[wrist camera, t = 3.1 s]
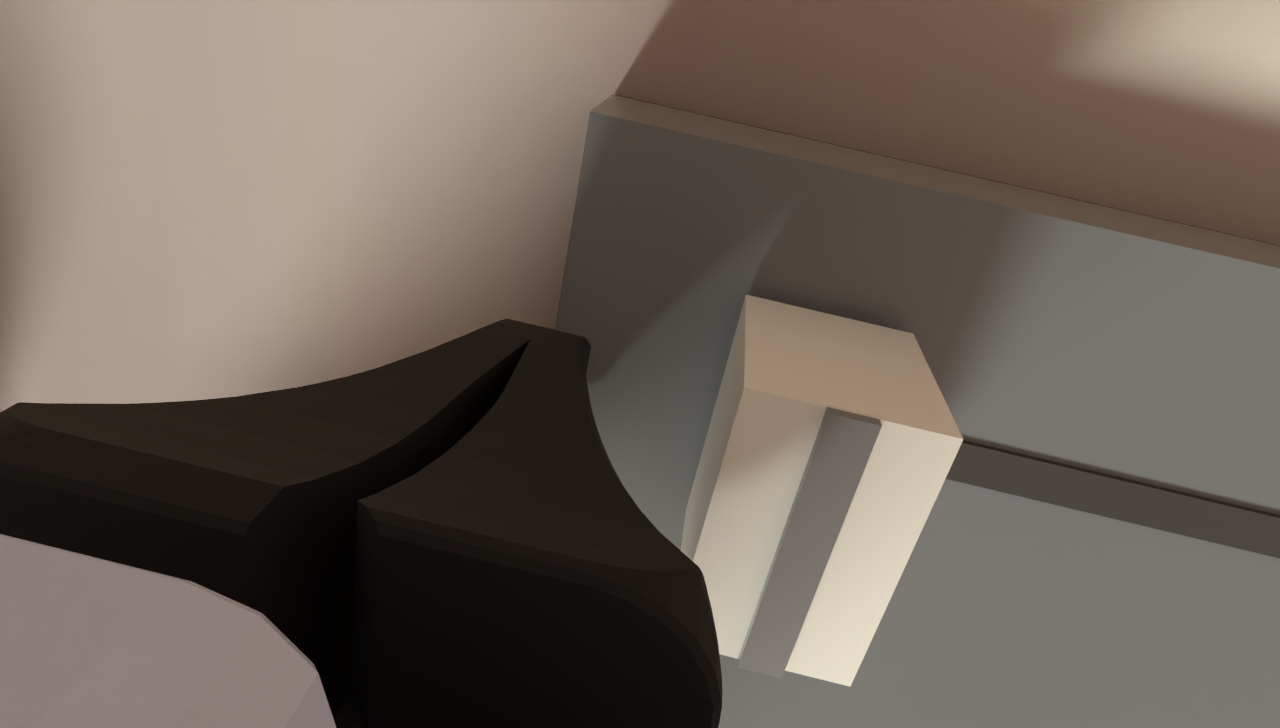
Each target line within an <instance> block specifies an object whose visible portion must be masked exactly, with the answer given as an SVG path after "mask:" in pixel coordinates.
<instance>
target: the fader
mask: <svg viewBox="0 0 1280 728" xmlns="http://www.w3.org/2000/svg"><path fill="white" fill-rule="evenodd" d="M962 441H963V437H962V435H961V433H960V431H959V429H958V427H957V425H956V422H955V420H954V418H953V416H952V414H951V412H950V410H949V408H948V406H947V404H946V401H945V399H944V397H943V395H942V393H941V391H940V389H939V387H938V385H937V382H936V380H935V378H934V376H933V374H932V372H931V370H930V368H929V366H928V364H927V361H926V359H925V357H924V355H923V353H922V351H921V349H920V347H919V345H918V343H917V340H916V338H915V336H914V334H913V333H909V332H904V331H900V330H896V329H892V328H887V327H883V326H879V325H875V324H870V323H866V322H862V321H857V320H853V319H849V318H845V317H840V316H836V315H832V314H827V313H823V312H819V311H815V310H810V309H806V308H802V307H798V306H793V305H789V304H785V303H780V302H776V301H772V300H768V299H763V298H759V297H755V296H750V295H746V296H745V300H744V303H743V307H742V310H741V314H740V318H739V321H738V325H737V328H736V332H735V335H734V339H733V343H732V346H731V350H730V353H729V357H728V361H727V364H726V368H725V371H724V375H723V378H722V382H721V386H720V389H719V393H718V396H717V400H716V404H715V407H714V411H713V414H712V418H711V422H710V425H709V429H708V432H707V436H706V439H705V443H704V447H703V450H702V454H701V457H700V461H699V465H698V468H697V472H696V475H695V479H694V482H693V486H692V490H691V493H690V497H689V500H688V504H687V508H686V513H685V521H684V529H683V537H682V544H681V551H682V552H683V553H684V554H685V555H686V556H687V557H688V558H690V559H691V560H692V561H693V562H694V563H695V564H696V565H697V566H699V568H700V569H701V571H702V573H703V576H704V580H705V583H706V587H707V591H708V595H709V600H710V604H711V608H712V613H713V618H714V623H715V628H716V634H717V639H718V647H719V654H720V655H724V656H728V657H732V658H736V659H738V668H742V669H746V670H750V671H754V672H758V673H762V674H766V675H770V676H774V677H778V678H782V676H783V674H784V671H789V672H793V673H797V674H801V675H805V676H809V677H813V678H817V679H821V680H825V681H829V682H833V683H837V684H841V685H845V686H849V687H851V684H852V682H853V680H854V678H855V676H856V673H857V671H858V669H859V667H860V665H861V662H862V660H863V658H864V656H865V654H866V652H867V649H868V647H869V645H870V643H871V641H872V638H873V636H874V634H875V632H876V630H877V627H878V625H879V623H880V621H881V619H882V616H883V614H884V612H885V610H886V608H887V606H888V603H889V601H890V599H891V597H892V595H893V592H894V590H895V588H896V586H897V584H898V581H899V579H900V577H901V575H902V573H903V571H904V568H905V566H906V564H907V562H908V560H909V557H910V555H911V553H912V551H913V549H914V546H915V544H916V542H917V540H918V538H919V536H920V533H921V531H922V529H923V527H924V525H925V522H926V520H927V518H928V516H929V514H930V511H931V509H932V507H933V505H934V503H935V501H936V498H937V496H938V494H939V492H940V490H941V487H942V485H943V483H944V481H945V479H946V476H947V474H948V472H949V470H950V468H951V466H952V463H953V461H954V459H955V457H956V455H957V452H958V450H959V448H960V446H961V444H962Z"/></svg>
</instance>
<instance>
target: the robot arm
mask: <svg viewBox="0 0 1280 728" xmlns="http://www.w3.org/2000/svg"><path fill="white" fill-rule="evenodd" d="M590 350H591V345H590V343H589V342H588V340H587V339H586V337H582V336H578V335H574V334H570V333H565V332H561V331H557V330H552V329H548V328H544V327H540V326H535V325H531V324H527V323H522V322H518V321H514V320H510V319H505V320H501V321H498V322H496V323H493V324H490V325H488V326H485V327H483V328H481V329H478V330H476V331H474V332H471V333H469V334H466V335H464V336H462V337H459V338H457V339H454V340H452V341H449V342H447V343H445V344H442V345H440V346H437V347H435V348H432V349H430V350H427V351H425V352H422V353H419V354H416V355H413V356H410V357H407V358H405V359H402V360H399V361H396V362H393V363H390V364H387V365H384V366H382V367H379V368H376V369H372V370H369V371H366V372H362V373H358V374H355V375H351V376H347V377H343V378H339V379H335V380H330V381H326V382H322V383H317V384H313V385H308V386H303V387H297V388H291V389H284V390H277V391H271V392H264V393H258V394H251V395H244V396H238V397H229V398H219V399H207V400H196V401H181V402H163V403H141V404H43V403H17V404H15V405H13V406H11V407H10V408H8V409H6V410H4V411H3V412H1V413H0V728H718V727H719V722H720V717H721V710H722V696H723V695H722V674H721V664H720V655H719V647H718V639H717V634H716V628H715V623H714V618H713V613H712V608H711V604H710V600H709V595H708V591H707V587H706V583H705V580H704V576H703V573H702V571H701V569H700V568H699V566H697V565H696V564H695V563H694V562H693V561H692V560H691V559H690V558H688V557H687V556H686V555H685V554H684V553H683V552H682V551H681V550H679V549H678V548H677V547H676V546H675V545H674V544H673V543H672V542H670V541H669V540H668V539H667V538H666V537H665V536H664V535H663V534H661V533H660V532H659V531H658V529H657V528H656V527H655V526H654V525H653V524H652V523H651V522H650V521H649V519H648V518H647V517H646V516H645V515H644V514H643V513H642V511H641V510H640V509H639V508H638V506H637V505H636V503H635V502H634V500H633V499H632V497H631V496H630V495H629V493H628V492H627V490H626V489H625V487H624V486H623V484H622V482H621V481H620V479H619V477H618V475H617V473H616V471H615V469H614V468H613V466H612V464H611V461H610V459H609V457H608V455H607V453H606V450H605V448H604V446H603V443H602V441H601V438H600V435H599V432H598V429H597V426H596V422H595V419H594V416H593V412H592V408H591V404H590V398H589V392H588V386H587V379H586V372H587V367H588V361H589V356H590Z"/></svg>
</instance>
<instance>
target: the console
mask: <svg viewBox="0 0 1280 728" xmlns="http://www.w3.org/2000/svg"><path fill="white" fill-rule="evenodd" d="M746 295H750V296H755V297H759V298H763V299H768V300H772V301H776V302H780V303H785V304H789V305H793V306H798V307H802V308H806V309H810V310H815V311H819V312H823V313H827V314H832V315H836V316H840V317H845V318H849V319H853V320H857V321H862V322H866V323H870V324H875V325H879V326H883V327H887V328H892V329H896V330H900V331H904V332H909V333H913V334H914V336H915V338H916V340H917V343H918V345H919V347H920V349H921V351H922V353H923V355H924V357H925V359H926V361H927V364H928V366H929V368H930V370H931V372H932V374H933V376H934V378H935V380H936V382H937V385H938V387H939V389H940V391H941V393H942V395H943V397H944V399H945V401H946V404H947V406H948V408H949V410H950V412H951V414H952V416H953V418H954V420H955V422H956V425H957V427H958V429H959V431H960V433H961V435H962V437H963V441H962V444H961V446H960V448H959V450H958V452H957V455H956V457H955V459H954V461H953V463H952V466H951V468H950V470H949V472H948V474H947V476H946V479H945V481H944V483H943V485H942V487H941V490H940V492H939V494H938V496H937V498H936V501H935V503H934V505H933V507H932V509H931V511H930V514H929V516H928V518H927V520H926V522H925V525H924V527H923V529H922V531H921V533H920V536H919V538H918V540H917V542H916V544H915V546H914V549H913V551H912V553H911V555H910V557H909V560H908V562H907V564H906V566H905V568H904V571H903V573H902V575H901V577H900V579H899V581H898V584H897V586H896V588H895V590H894V592H893V595H892V597H891V599H890V601H889V603H888V606H887V608H886V610H885V612H884V614H883V616H882V619H881V621H880V623H879V625H878V627H877V630H876V632H875V634H874V636H873V638H872V641H871V643H870V645H869V647H868V649H867V652H866V654H865V656H864V658H863V660H862V662H861V665H860V667H859V669H858V671H857V673H856V676H855V678H854V680H853V682H852V684H851V687H849V686H845V685H841V684H837V683H833V682H829V681H825V680H821V679H817V678H813V677H809V676H805V675H801V674H797V673H793V672H789V671H784V674H783V676H782V678H778V677H774V676H770V675H766V674H762V673H758V672H754V671H750V670H746V669H742V668H738V659H736V658H732V657H728V656H724V655H720V654H719V655H720V664H721V674H722V695H723V696H722V710H721V717H720V722H719V727H718V728H1280V246H1277V245H1273V244H1268V243H1264V242H1259V241H1255V240H1251V239H1246V238H1242V237H1237V236H1233V235H1229V234H1224V233H1220V232H1215V231H1211V230H1207V229H1202V228H1198V227H1193V226H1189V225H1185V224H1180V223H1176V222H1171V221H1167V220H1163V219H1158V218H1154V217H1149V216H1145V215H1141V214H1136V213H1132V212H1127V211H1123V210H1119V209H1114V208H1110V207H1105V206H1101V205H1096V204H1092V203H1088V202H1083V201H1079V200H1074V199H1070V198H1066V197H1061V196H1057V195H1052V194H1048V193H1044V192H1039V191H1035V190H1030V189H1026V188H1022V187H1017V186H1013V185H1008V184H1004V183H1000V182H995V181H991V180H986V179H982V178H978V177H973V176H969V175H964V174H960V173H956V172H951V171H947V170H942V169H938V168H934V167H929V166H925V165H920V164H916V163H912V162H907V161H903V160H898V159H894V158H890V157H885V156H881V155H876V154H872V153H868V152H863V151H859V150H854V149H850V148H846V147H841V146H837V145H832V144H828V143H824V142H819V141H815V140H810V139H806V138H802V137H797V136H793V135H788V134H784V133H780V132H775V131H771V130H766V129H762V128H758V127H753V126H749V125H744V124H740V123H736V122H731V121H727V120H722V119H718V118H714V117H709V116H705V115H700V114H696V113H692V112H687V111H683V110H678V109H674V108H670V107H665V106H661V105H656V104H652V103H648V102H643V101H639V100H634V99H630V98H625V97H621V96H617V95H612V96H611V97H610V98H608V99H607V100H605V101H604V102H603V103H601V104H600V105H599V106H597V107H596V108H595V109H593V110H592V111H591V112H590V118H589V124H588V130H587V136H586V142H585V149H584V155H583V161H582V167H581V173H580V179H579V186H578V192H577V198H576V204H575V210H574V216H573V222H572V229H571V235H570V241H569V247H568V253H567V259H566V265H565V272H564V278H563V284H562V290H561V296H560V302H559V309H558V315H557V321H556V327H555V330H557V331H561V332H565V333H570V334H574V335H578V336H582V337H586V339H587V340H588V342H589V343H590V345H591V350H590V356H589V361H588V367H587V372H586V379H587V386H588V392H589V398H590V404H591V408H592V412H593V416H594V419H595V422H596V426H597V429H598V432H599V435H600V438H601V441H602V443H603V446H604V448H605V450H606V453H607V455H608V457H609V459H610V461H611V464H612V466H613V468H614V469H615V471H616V473H617V475H618V477H619V479H620V481H621V482H622V484H623V486H624V487H625V489H626V490H627V492H628V493H629V495H630V496H631V497H632V499H633V500H634V502H635V503H636V505H637V506H638V508H639V509H640V510H641V511H642V513H643V514H644V515H645V516H646V517H647V518H648V519H649V521H650V522H651V523H652V524H653V525H654V526H655V527H656V528H657V529H658V531H659V532H660V533H661V534H663V535H664V536H665V537H666V538H667V539H668V540H669V541H670V542H672V543H673V544H674V545H675V546H676V547H677V548H678V549H679V550H681V544H682V537H683V529H684V521H685V513H686V508H687V504H688V500H689V497H690V493H691V490H692V486H693V482H694V479H695V475H696V472H697V468H698V465H699V461H700V457H701V454H702V450H703V447H704V443H705V439H706V436H707V432H708V429H709V425H710V422H711V418H712V414H713V411H714V407H715V404H716V400H717V396H718V393H719V389H720V386H721V382H722V378H723V375H724V371H725V368H726V364H727V361H728V357H729V353H730V350H731V346H732V343H733V339H734V335H735V332H736V328H737V325H738V321H739V318H740V314H741V310H742V307H743V303H744V300H745V296H746Z"/></svg>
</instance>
